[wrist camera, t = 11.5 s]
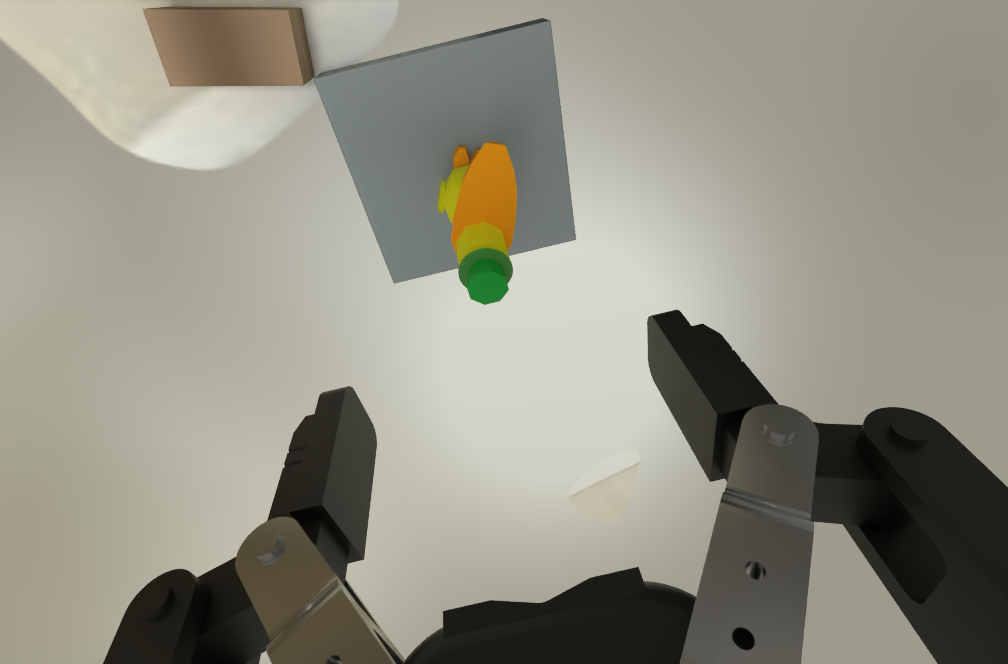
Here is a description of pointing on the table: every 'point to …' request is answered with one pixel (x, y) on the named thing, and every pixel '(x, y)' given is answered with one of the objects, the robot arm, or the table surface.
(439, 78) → the slate stand
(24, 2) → the table surface
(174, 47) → the walnut brick
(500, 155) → the toy figure
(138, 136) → the table surface
